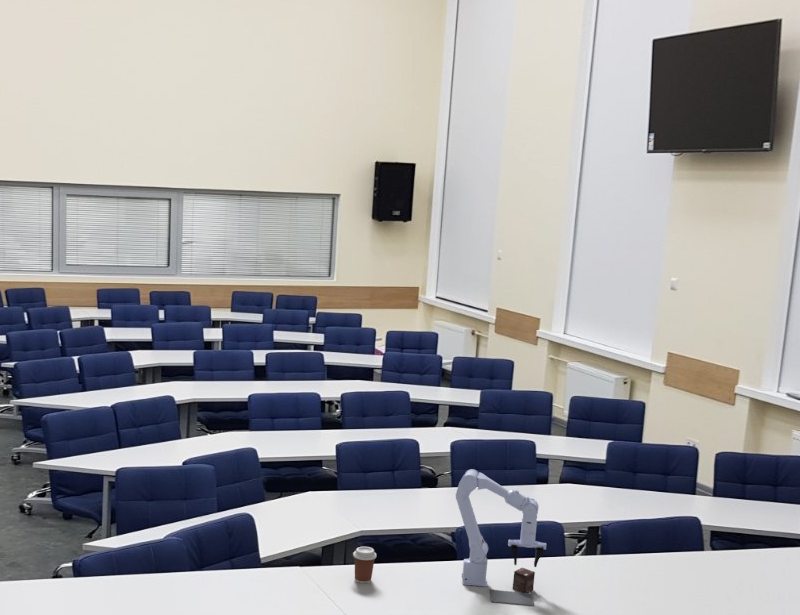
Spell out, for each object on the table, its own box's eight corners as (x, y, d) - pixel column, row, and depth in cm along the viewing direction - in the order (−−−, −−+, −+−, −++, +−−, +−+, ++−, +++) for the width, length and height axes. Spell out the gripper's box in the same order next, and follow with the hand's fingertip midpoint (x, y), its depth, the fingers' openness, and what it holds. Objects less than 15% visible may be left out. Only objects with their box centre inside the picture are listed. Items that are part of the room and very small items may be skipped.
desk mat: (491, 602, 359) (491, 601, 359) (489, 590, 370) (489, 589, 370) (534, 606, 359) (534, 605, 359) (531, 594, 370) (531, 593, 370)
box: (520, 585, 378) (522, 567, 377) (533, 590, 374) (535, 571, 373) (512, 589, 373) (513, 571, 373) (525, 594, 370) (527, 575, 369)
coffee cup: (353, 584, 365) (356, 554, 364) (348, 575, 374) (351, 545, 373) (377, 584, 368) (379, 553, 367) (371, 574, 377) (373, 545, 375)
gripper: (510, 533, 367) (507, 567, 369) (548, 536, 367) (545, 570, 368) (509, 526, 374) (505, 560, 376) (546, 530, 374) (543, 563, 375)
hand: (525, 565), depth 373 cm, fingers open, 7 cm apart
